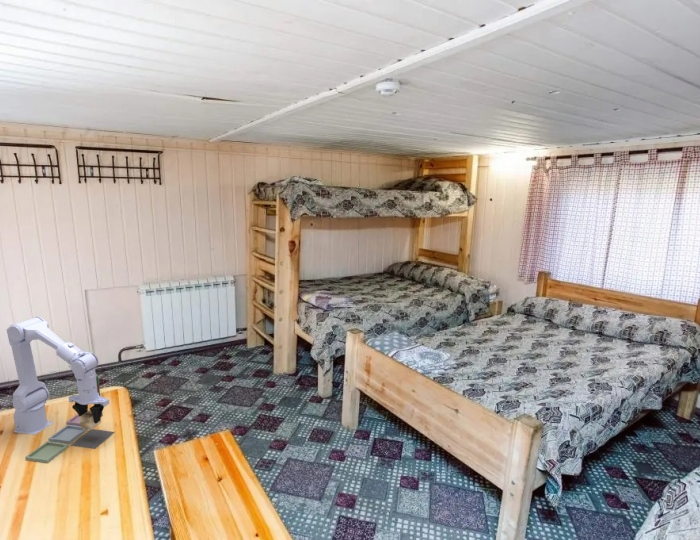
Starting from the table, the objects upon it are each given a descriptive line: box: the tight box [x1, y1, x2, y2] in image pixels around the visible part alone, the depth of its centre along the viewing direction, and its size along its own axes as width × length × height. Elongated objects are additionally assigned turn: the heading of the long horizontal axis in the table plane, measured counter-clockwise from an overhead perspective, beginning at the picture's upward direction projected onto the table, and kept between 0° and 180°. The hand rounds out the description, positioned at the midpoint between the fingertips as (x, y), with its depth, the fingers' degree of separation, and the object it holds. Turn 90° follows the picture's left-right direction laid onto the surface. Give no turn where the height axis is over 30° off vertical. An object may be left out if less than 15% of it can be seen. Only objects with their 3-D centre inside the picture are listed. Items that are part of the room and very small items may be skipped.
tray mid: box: [47, 424, 89, 445], centre depth 147 cm, size 8×8×2 cm
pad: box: [69, 428, 116, 450], centre depth 146 cm, size 10×10×1 cm
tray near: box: [24, 440, 70, 464], centre depth 138 cm, size 8×8×2 cm
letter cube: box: [79, 409, 102, 431], centre depth 144 cm, size 4×4×5 cm
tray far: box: [66, 409, 104, 426], centre depth 157 cm, size 8×8×2 cm
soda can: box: [95, 371, 101, 396], centre depth 171 cm, size 5×5×12 cm
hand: (91, 421), depth 145 cm, fingers closed on letter cube, 5 cm apart
